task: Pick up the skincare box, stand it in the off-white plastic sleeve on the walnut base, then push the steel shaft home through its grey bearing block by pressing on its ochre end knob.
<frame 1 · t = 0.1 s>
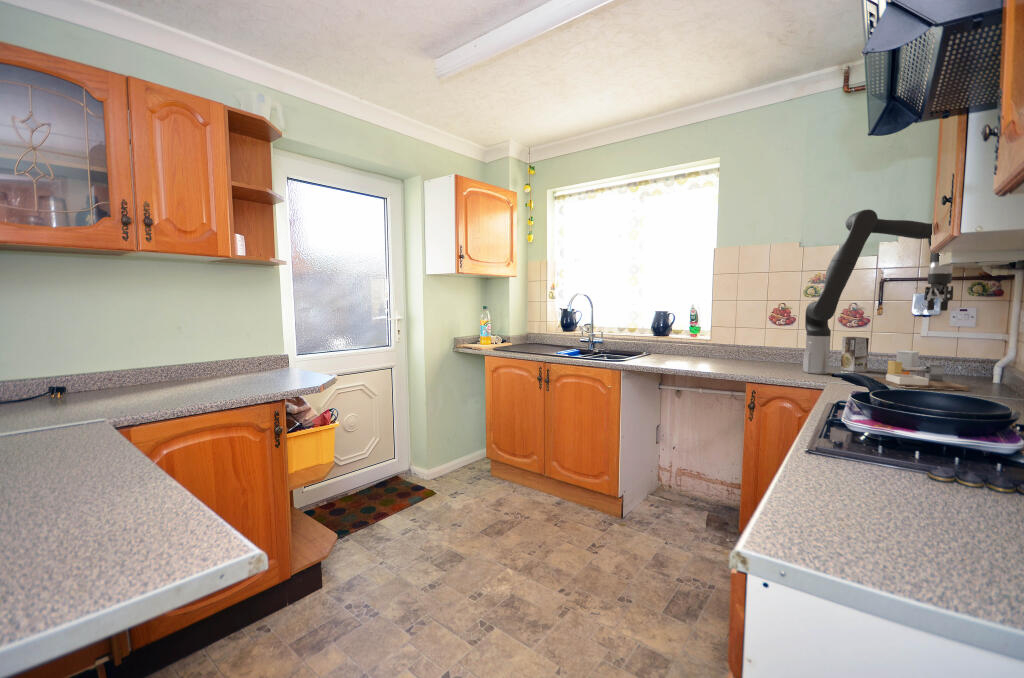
hand: (937, 310, 195), 29 cm above the counter, tool pointing down, fingers open, 8 cm apart
sleeve: (906, 386, 174), resting on base plate
base plate: (917, 385, 177), on the counter
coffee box: (853, 370, 215), on the counter
bearing block: (932, 383, 180), resting on base plate
skincare box: (905, 379, 191), on the counter
shaft: (912, 369, 182), point 6 cm above the counter, slide at 0.0 cm
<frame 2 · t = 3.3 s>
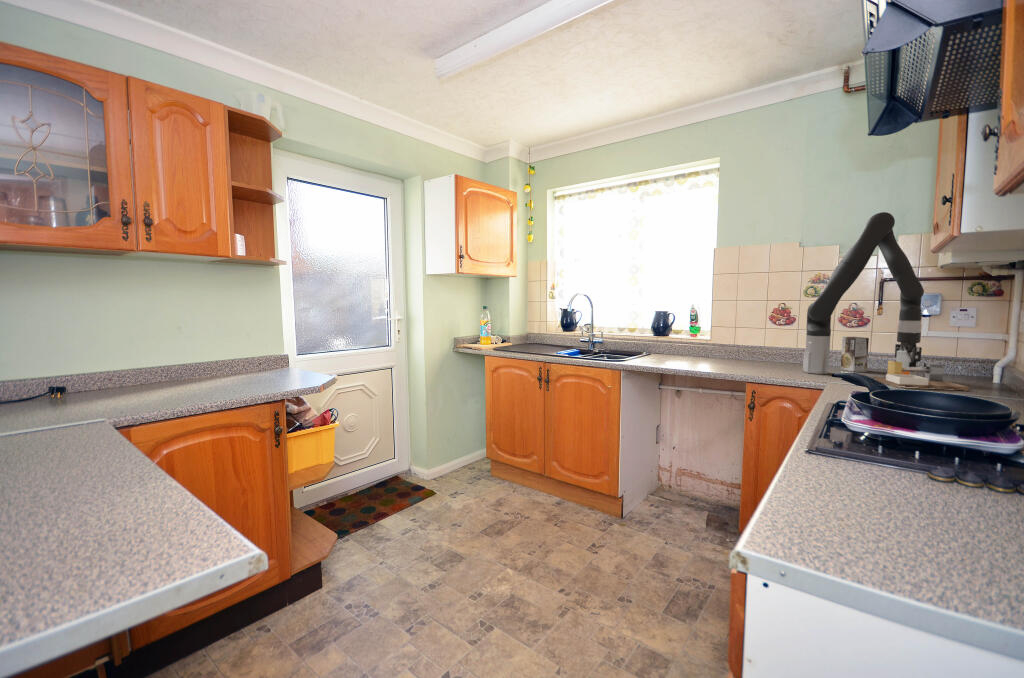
hand: (906, 369, 191), 4 cm above the counter, tool pointing down, fingers closed on skincare box, 7 cm apart
skincare box: (905, 379, 191), on the counter, touching gripper
everything else where it was.
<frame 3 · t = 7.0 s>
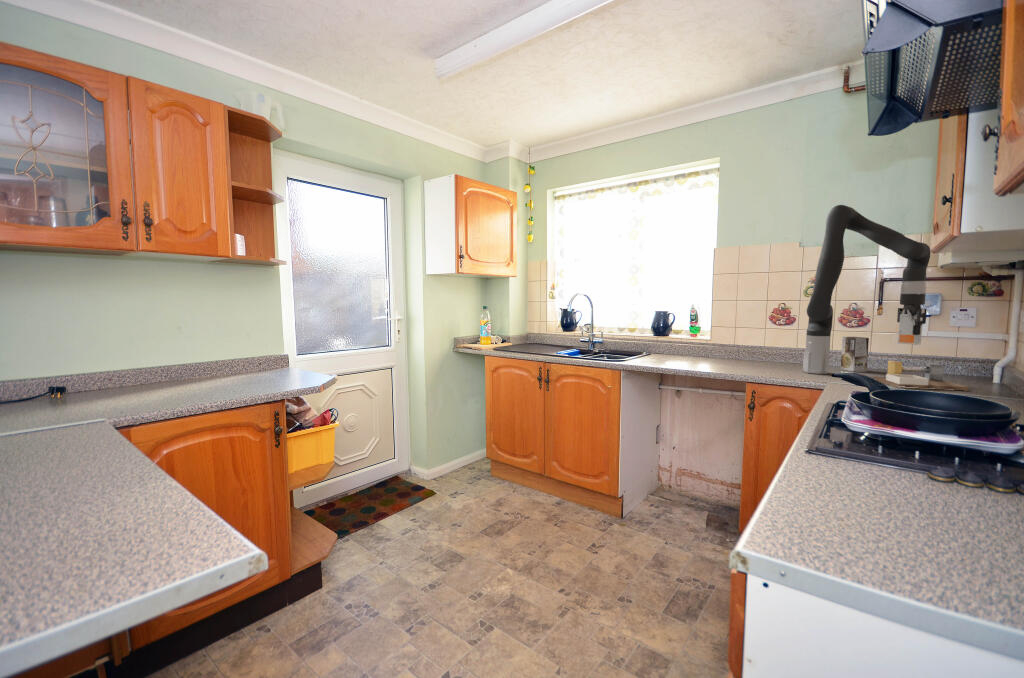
hand: (910, 334, 180), 20 cm above the counter, tool pointing down, fingers closed on skincare box, 7 cm apart
skincare box: (909, 344, 180), point 16 cm above the counter, touching gripper
everything else where it was.
when the fingers open (7 cm above the counter, at t = 10.8 s): skincare box drops 2 cm, resting on base plate.
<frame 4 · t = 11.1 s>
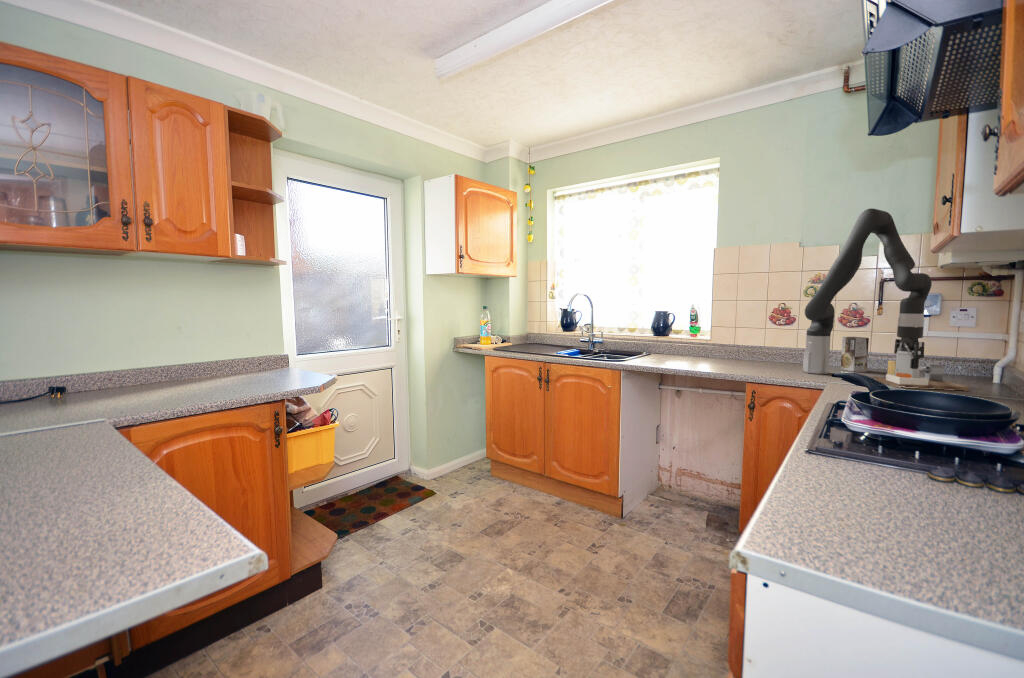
hand: (907, 367, 174), 8 cm above the counter, tool pointing down, fingers open, 8 cm apart
skincare box: (906, 383, 174), point 1 cm above the counter, touching base plate
everything else where it was.
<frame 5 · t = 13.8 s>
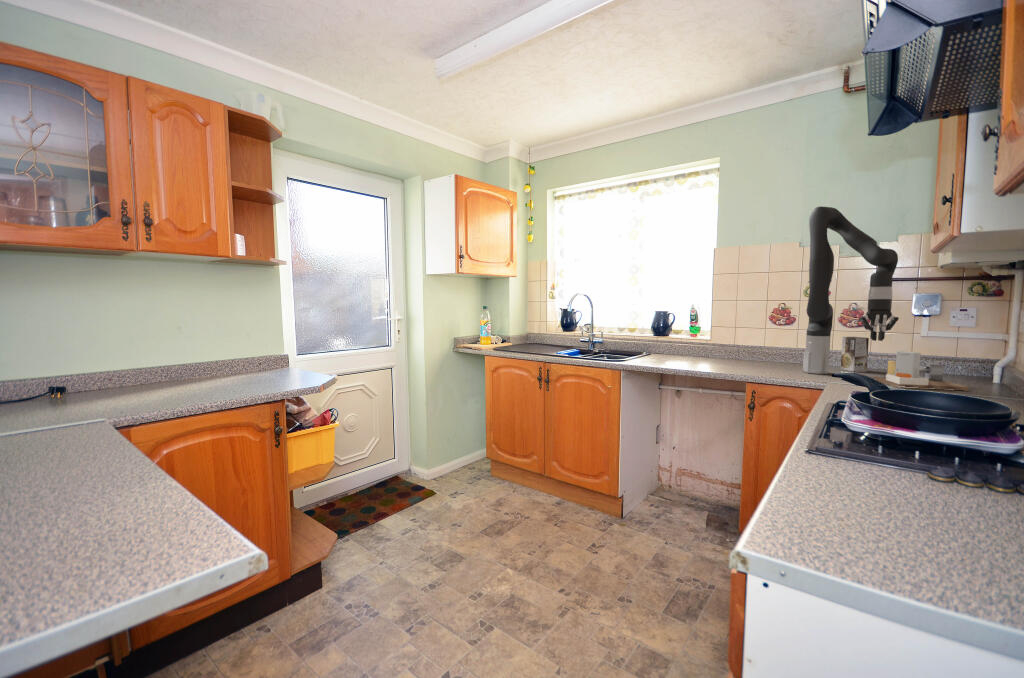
hand: (877, 340, 184), 17 cm above the counter, tool pointing down, fingers closed
nothing on the counter moved.
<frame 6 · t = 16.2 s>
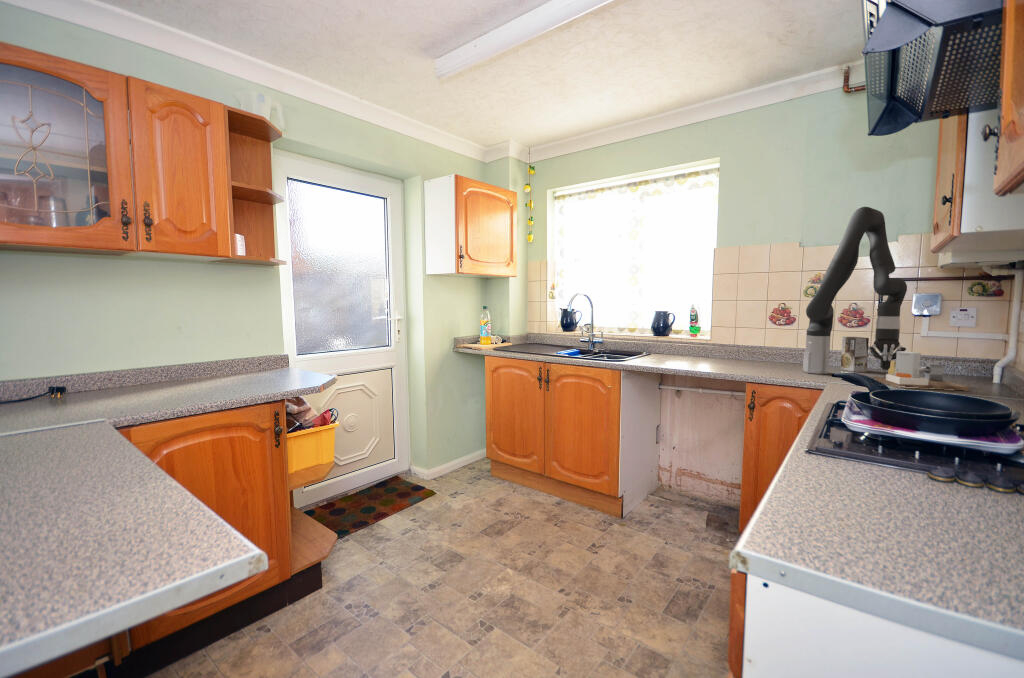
hand: (884, 369, 184), 5 cm above the counter, tool pointing down, fingers closed
shaft: (912, 369, 182), point 5 cm above the counter, slide at 0.3 cm, touching gripper
everything else where it was.
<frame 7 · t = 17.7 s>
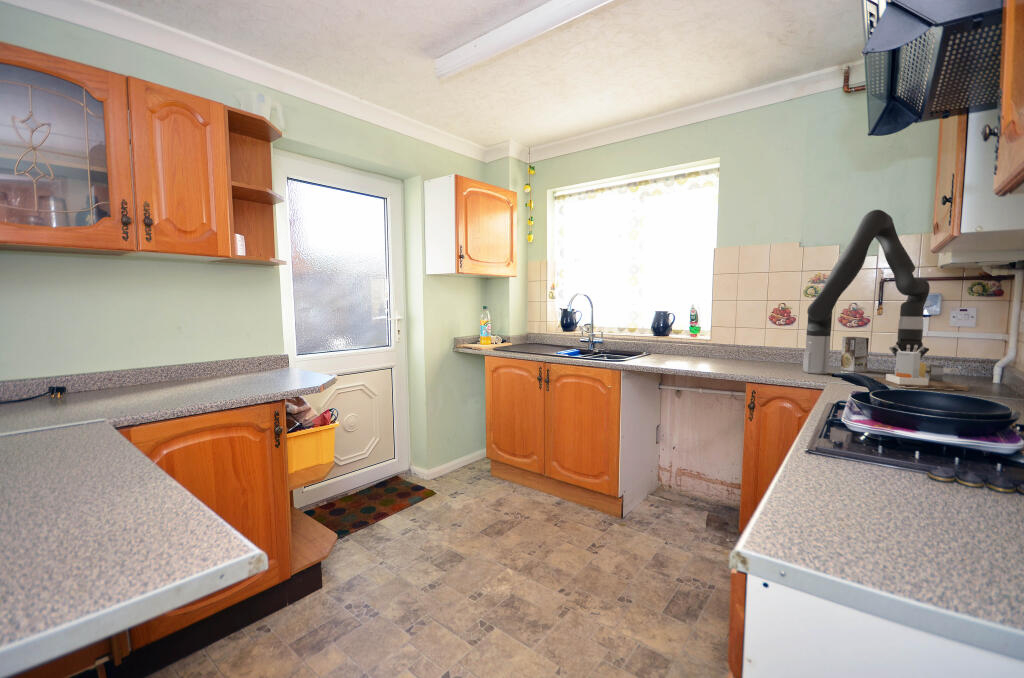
hand: (907, 370, 182), 5 cm above the counter, tool pointing down, fingers closed
shaft: (935, 370, 180), point 6 cm above the counter, slide at 8.0 cm, touching gripper
everything else where it was.
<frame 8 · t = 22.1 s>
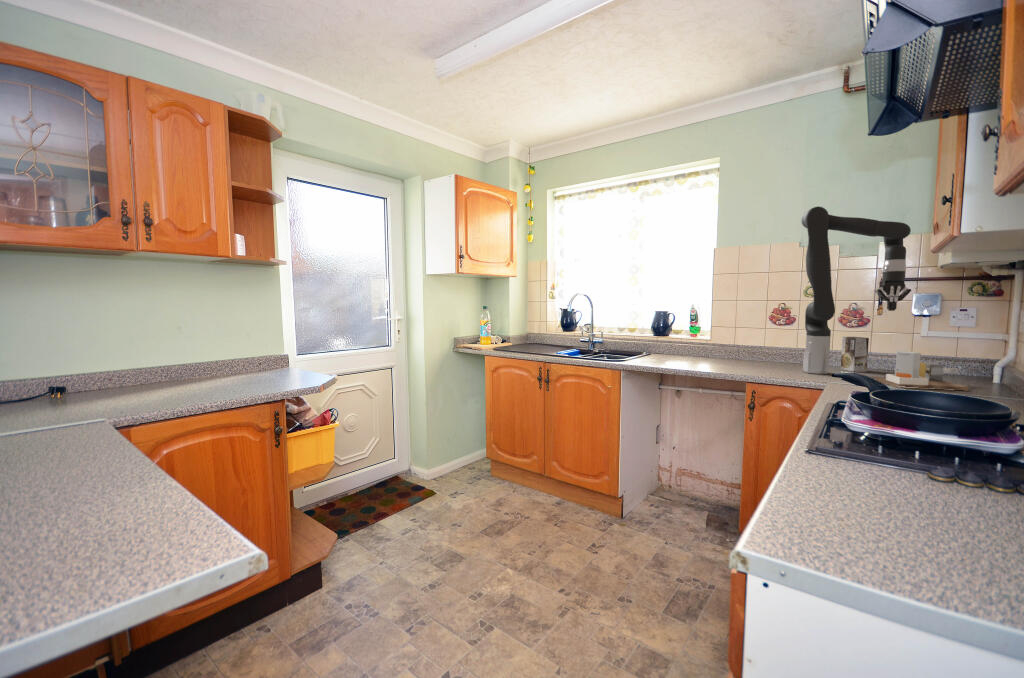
hand: (891, 310, 195), 29 cm above the counter, tool pointing down, fingers closed
shaft: (935, 370, 180), point 5 cm above the counter, slide at 8.0 cm
everything else where it was.
at the end: shaft slide at 8.0 cm; skincare box 0.2 cm from the target spot, point 1.3 cm above the counter; skincare box tilted 0° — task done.
